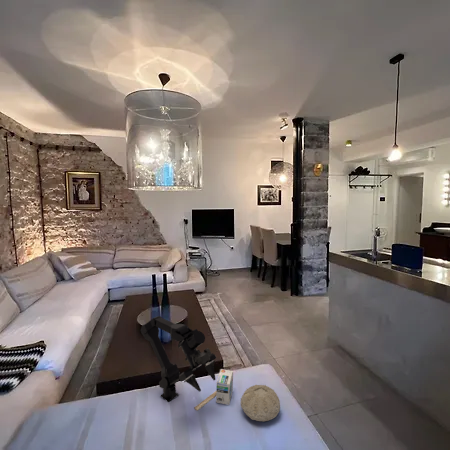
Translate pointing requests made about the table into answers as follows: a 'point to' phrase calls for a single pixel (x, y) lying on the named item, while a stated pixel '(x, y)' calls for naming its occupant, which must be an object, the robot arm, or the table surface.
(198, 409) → the rail
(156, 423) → the table surface
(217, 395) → the light bulb box
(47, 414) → the table surface
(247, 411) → the beige carved stone
